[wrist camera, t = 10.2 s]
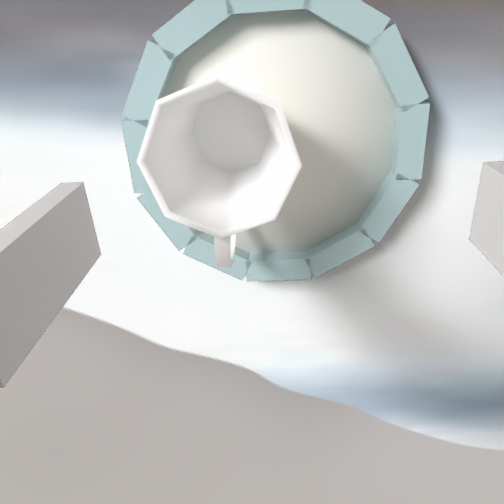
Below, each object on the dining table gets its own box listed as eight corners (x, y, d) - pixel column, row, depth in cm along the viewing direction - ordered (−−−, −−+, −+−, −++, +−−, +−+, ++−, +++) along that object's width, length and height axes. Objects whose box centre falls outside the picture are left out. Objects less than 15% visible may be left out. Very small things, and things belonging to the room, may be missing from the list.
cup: (296, 65, 24) (308, 76, 17) (286, 232, 28) (293, 297, 21) (169, 62, 24) (127, 72, 17) (179, 229, 29) (149, 293, 21)
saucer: (202, -87, 22) (196, -98, 20) (476, 77, 25) (492, 79, 23) (98, 200, 29) (87, 211, 27) (322, 302, 32) (326, 318, 30)
